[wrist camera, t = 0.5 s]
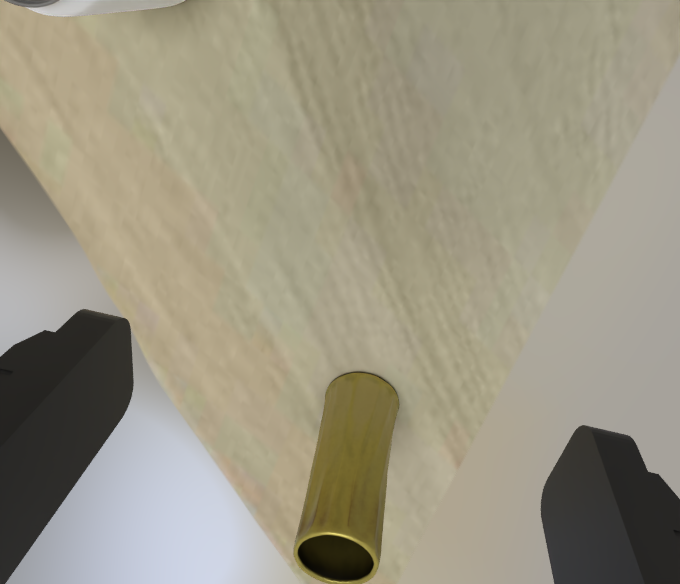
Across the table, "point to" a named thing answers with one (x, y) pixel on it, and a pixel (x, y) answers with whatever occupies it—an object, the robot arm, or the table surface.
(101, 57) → the table surface
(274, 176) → the table surface
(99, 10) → the can
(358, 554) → the vase
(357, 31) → the table surface
